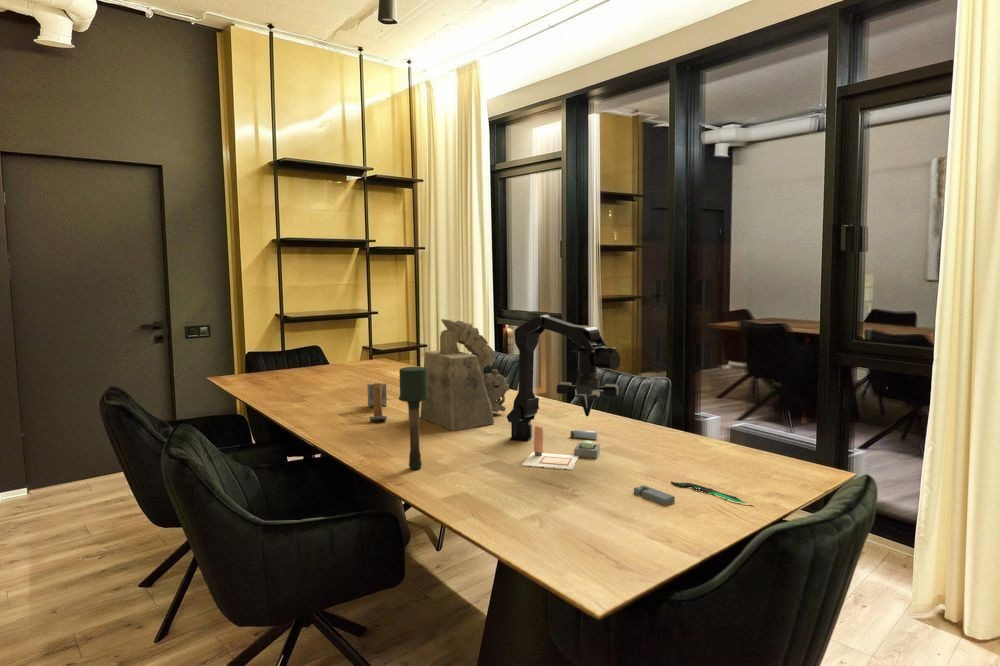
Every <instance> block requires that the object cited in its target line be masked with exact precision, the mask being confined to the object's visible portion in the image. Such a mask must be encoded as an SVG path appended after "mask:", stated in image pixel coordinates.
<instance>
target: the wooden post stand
mask: <svg viewBox="0 0 1000 666" xmlns="http://www.w3.org/2000/svg"><path fill="white" fill-rule="evenodd" d="M366 388H367V406H368V408H373V416H369V421H371V422H373V421H372V420H377V421H386V420H387V419H388V418H387V417H388V416H387V415H383V407H387V402H388V401H387V399H388V398H387V397H388V396H387V383H379V382H377V383H370V384H367V387H366ZM387 421H388V420H387Z"/></svg>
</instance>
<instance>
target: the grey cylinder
mask: <svg viewBox="0 0 1000 666" xmlns="http://www.w3.org/2000/svg"><path fill="white" fill-rule="evenodd" d="M569 435H570V438H574V437H577V438H576V439H582V438H593V439H592V440H596V438H597V439H598V431H596V430H595V431H594V430H584V429H583V430H582V429H581V430H580V429H574V430H570V433H569Z"/></svg>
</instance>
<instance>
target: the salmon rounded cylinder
mask: <svg viewBox="0 0 1000 666" xmlns="http://www.w3.org/2000/svg"><path fill="white" fill-rule="evenodd" d="M533 431H534V432H533V434H534V435H533V439H534V440H533V452H535V456H542V453H544V452H543V451H544V426H543V425H535V426H534V430H533Z"/></svg>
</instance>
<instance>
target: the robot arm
mask: <svg viewBox="0 0 1000 666" xmlns="http://www.w3.org/2000/svg"><path fill="white" fill-rule="evenodd" d="M546 330H548V331H551V332H553V333H557V334H560V335H562V336H565V337H567V338H569V339H570V340H571V341H572V342H573V343H575V344H577V345H576V346H575V347H574V348H573V349H572V352H574V353H578V358H577V359H578V364H577V365H578V369H577V370H578V376H577V378H576V382H575V384H573V383H572V382H569V381H560V383H558V384H557V385H556V394H559V395H560V394H561V395H562V394H563V395H566V394H568V393H569V392H574V393H575V394H574V397H575V398H578V400H579V401H580V403H581V405H582V409H583V412H584V415H585V417H589V415H590V413H591V410H592V408H593V404H594V403H595V400H596V399H598V398H600V396H601V394H602V393H603V394H604V395H605V396H607V397H617V396H618V394H619V385H618V384H617V383H615V384H614V383H605V384H604V386H600V379H599V378H598V377H597V376H598V373H597V372H598V371H597V370H598V369H602V370H609V371H610V370H611V371H616V370H618V369H619V368H620V365H621V361H622V360H621V356H620V353H619V352H618V351H617V347H608V346H607V344H606V342H605V340H604V339H603V337H602V335H601V334H600V330H599V328H598V327H596V326H593V325H584V324H583V325H581V324H580V325H578V324H574V323H572V322H568V321H565V320H562V319H559V318H555V317H553V316H551V315H549V314H540V315H539V314H538V315H537V316H535V317H534V318H533V319H531V320H529V321H527V322H525V323H523V324H522V325H518V326H517V327H516V328H515V330H514V331H513V332H514V343H515V346H516V348H517V350H518V352H519V353H518V357H519V358H518V392H517V393H516V396H515V398H514V400H513V406H512V409H511V410H510V412H509V413H508V414H507V415H506V419H507V421H508V423H511V424H510V425H511V427H510V429H511V430H510V431H511V432H510V433H511V435H510V436H511V437H510V438H509V439H510V440H512V441H513V440H514V441H526V442H527V441H530V439H531V438H532V437H533V424H532V423H531V421H533V420H535V417H536V415H537V413H538V410H540V406H539V403H540V399H539V397H536V396H535V394H534V363H535V362H534V360H535V359H534V356H535V355H534V353H535V350H536V348H537V345H538V344H539V338H540V336H541V335H542V334H543V333H544V332H545V331H546Z"/></svg>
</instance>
